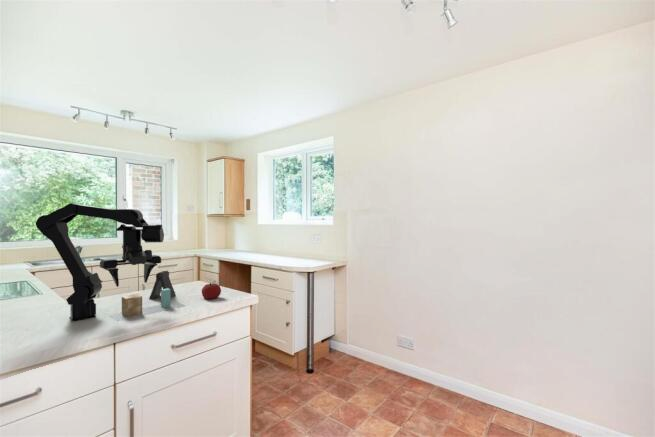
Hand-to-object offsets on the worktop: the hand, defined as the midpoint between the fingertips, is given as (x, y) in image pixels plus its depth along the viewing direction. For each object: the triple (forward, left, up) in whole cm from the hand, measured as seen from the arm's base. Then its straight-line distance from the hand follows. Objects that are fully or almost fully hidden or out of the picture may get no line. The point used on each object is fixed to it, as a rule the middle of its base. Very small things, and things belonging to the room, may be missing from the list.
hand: (131, 284), depth 114 cm
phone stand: (+17, +16, -12) cm, 26 cm away
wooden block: (0, 0, -11) cm, 11 cm away
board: (+6, 0, -11) cm, 13 cm away
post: (+12, 0, -11) cm, 16 cm away
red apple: (+31, -1, -12) cm, 33 cm away
